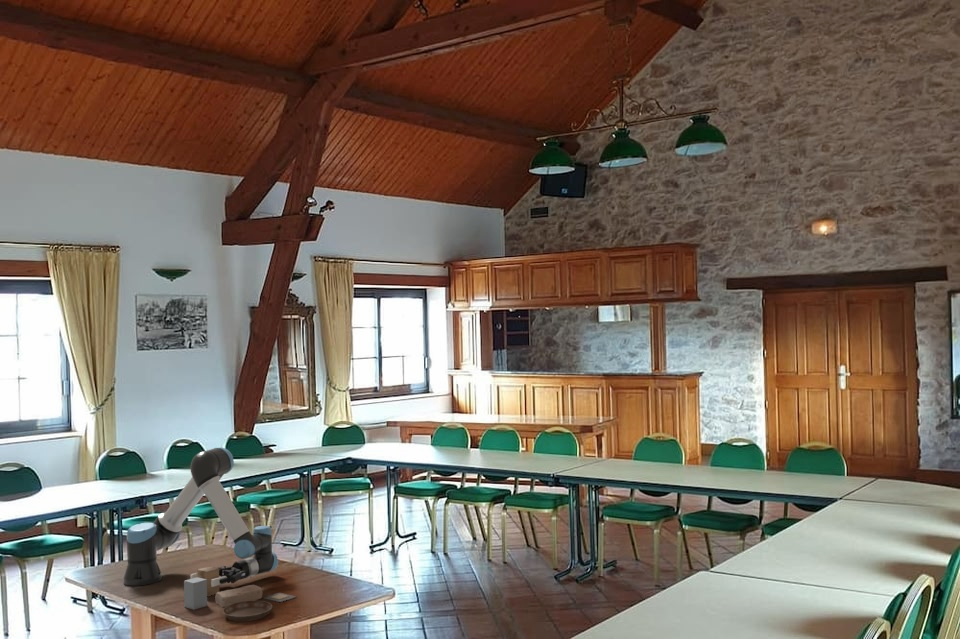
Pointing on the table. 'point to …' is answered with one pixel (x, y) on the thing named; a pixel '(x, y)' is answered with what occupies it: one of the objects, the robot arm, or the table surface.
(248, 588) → the brick
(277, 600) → the card
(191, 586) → the slate block
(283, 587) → the table surface
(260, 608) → the plant saucer
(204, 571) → the walnut block
